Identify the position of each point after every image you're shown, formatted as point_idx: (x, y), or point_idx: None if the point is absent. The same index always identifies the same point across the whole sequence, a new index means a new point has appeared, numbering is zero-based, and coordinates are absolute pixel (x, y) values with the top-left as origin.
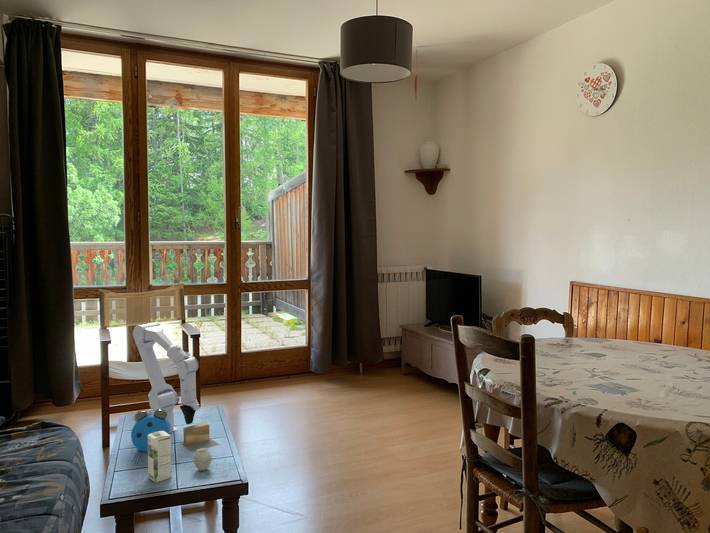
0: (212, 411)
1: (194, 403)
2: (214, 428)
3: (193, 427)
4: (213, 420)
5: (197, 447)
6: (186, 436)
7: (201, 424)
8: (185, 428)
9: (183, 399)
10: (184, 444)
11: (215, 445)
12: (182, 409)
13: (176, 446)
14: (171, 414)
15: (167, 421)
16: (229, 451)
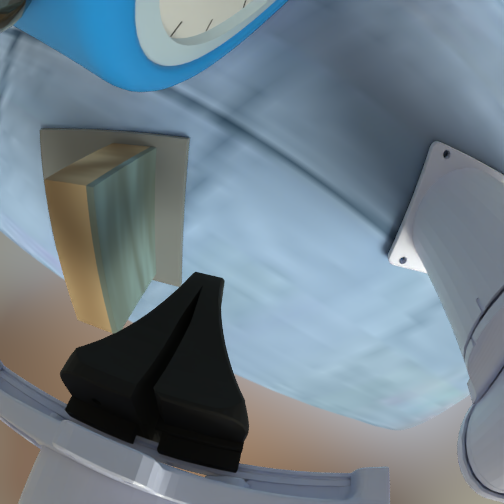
0: (389, 416)
1: (3, 420)
2: (243, 353)
3: (66, 240)
4: (323, 391)
5: None
6: (82, 161)
7: (91, 300)
8: (74, 191)
9: (48, 494)
10: (138, 141)
11: (53, 235)
12: (161, 375)
13: (165, 98)
14: (452, 314)
15: (50, 42)
16: (12, 234)
